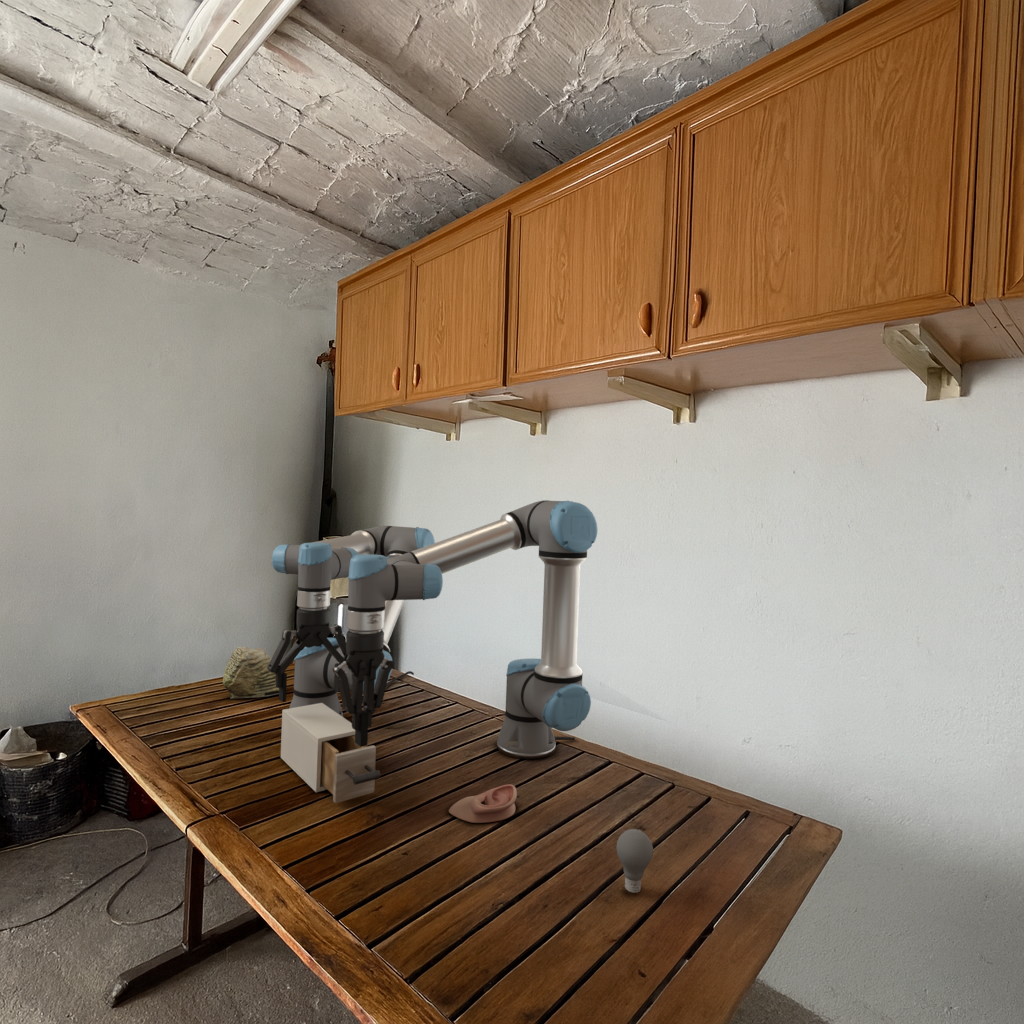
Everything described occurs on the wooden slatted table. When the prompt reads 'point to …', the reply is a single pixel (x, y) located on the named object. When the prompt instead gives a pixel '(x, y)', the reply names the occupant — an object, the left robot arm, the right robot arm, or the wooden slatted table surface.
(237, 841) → the wooden slatted table surface
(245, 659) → the fossil
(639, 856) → the light bulb
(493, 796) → the anatomical model
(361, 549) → the left robot arm
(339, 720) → the cabinet
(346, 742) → the drawer
